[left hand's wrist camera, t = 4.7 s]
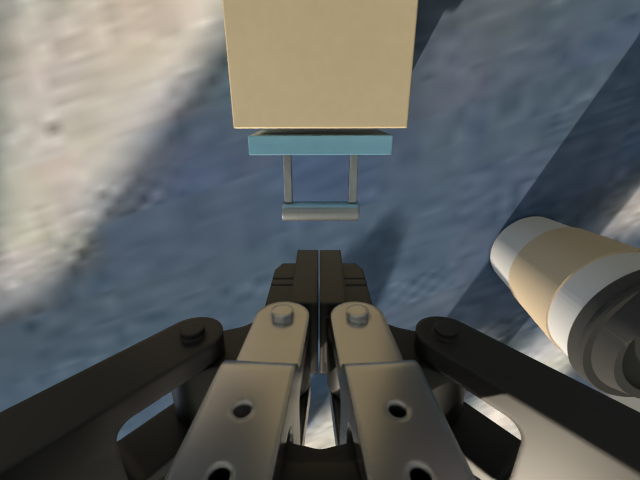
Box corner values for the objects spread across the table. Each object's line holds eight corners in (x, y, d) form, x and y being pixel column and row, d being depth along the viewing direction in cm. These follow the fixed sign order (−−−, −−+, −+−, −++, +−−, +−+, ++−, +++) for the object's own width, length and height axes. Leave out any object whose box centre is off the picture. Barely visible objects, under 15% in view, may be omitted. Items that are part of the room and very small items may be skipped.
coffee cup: (593, 252, 32) (800, 362, 18) (511, 307, 35) (640, 443, 21) (544, 184, 30) (741, 251, 16) (460, 249, 32) (567, 357, 18)
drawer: (372, 208, 30) (385, 233, 24) (268, 208, 30) (255, 234, 24) (393, -169, 21) (424, -279, 15) (245, -169, 21) (215, -279, 15)
